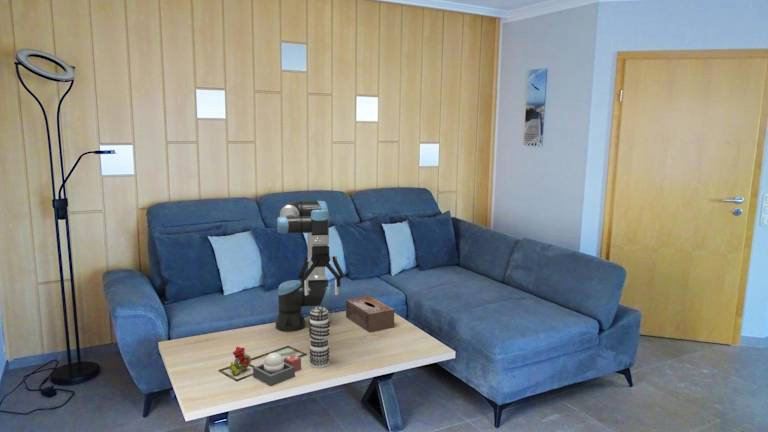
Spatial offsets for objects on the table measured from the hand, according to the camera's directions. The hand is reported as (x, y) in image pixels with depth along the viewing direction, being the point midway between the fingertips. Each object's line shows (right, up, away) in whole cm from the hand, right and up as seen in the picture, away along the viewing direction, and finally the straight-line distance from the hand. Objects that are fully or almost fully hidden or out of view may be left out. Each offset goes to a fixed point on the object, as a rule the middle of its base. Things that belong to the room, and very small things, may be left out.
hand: (321, 295), depth 237 cm
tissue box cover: (+19, -22, +53) cm, 61 cm away
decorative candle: (-1, -30, +2) cm, 30 cm away
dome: (-18, -30, -11) cm, 36 cm away
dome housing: (-16, -32, -8) cm, 36 cm away
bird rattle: (-33, -31, -6) cm, 46 cm away
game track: (-25, -30, +2) cm, 39 cm away
